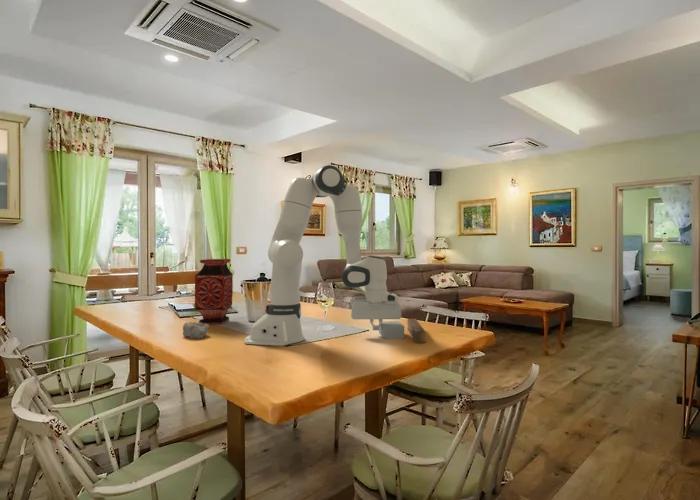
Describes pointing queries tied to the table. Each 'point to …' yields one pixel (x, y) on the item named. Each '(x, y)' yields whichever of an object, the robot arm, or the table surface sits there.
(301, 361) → the table surface
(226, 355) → the table surface
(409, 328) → the dark brown bar
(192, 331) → the stone
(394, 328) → the block
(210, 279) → the vase
